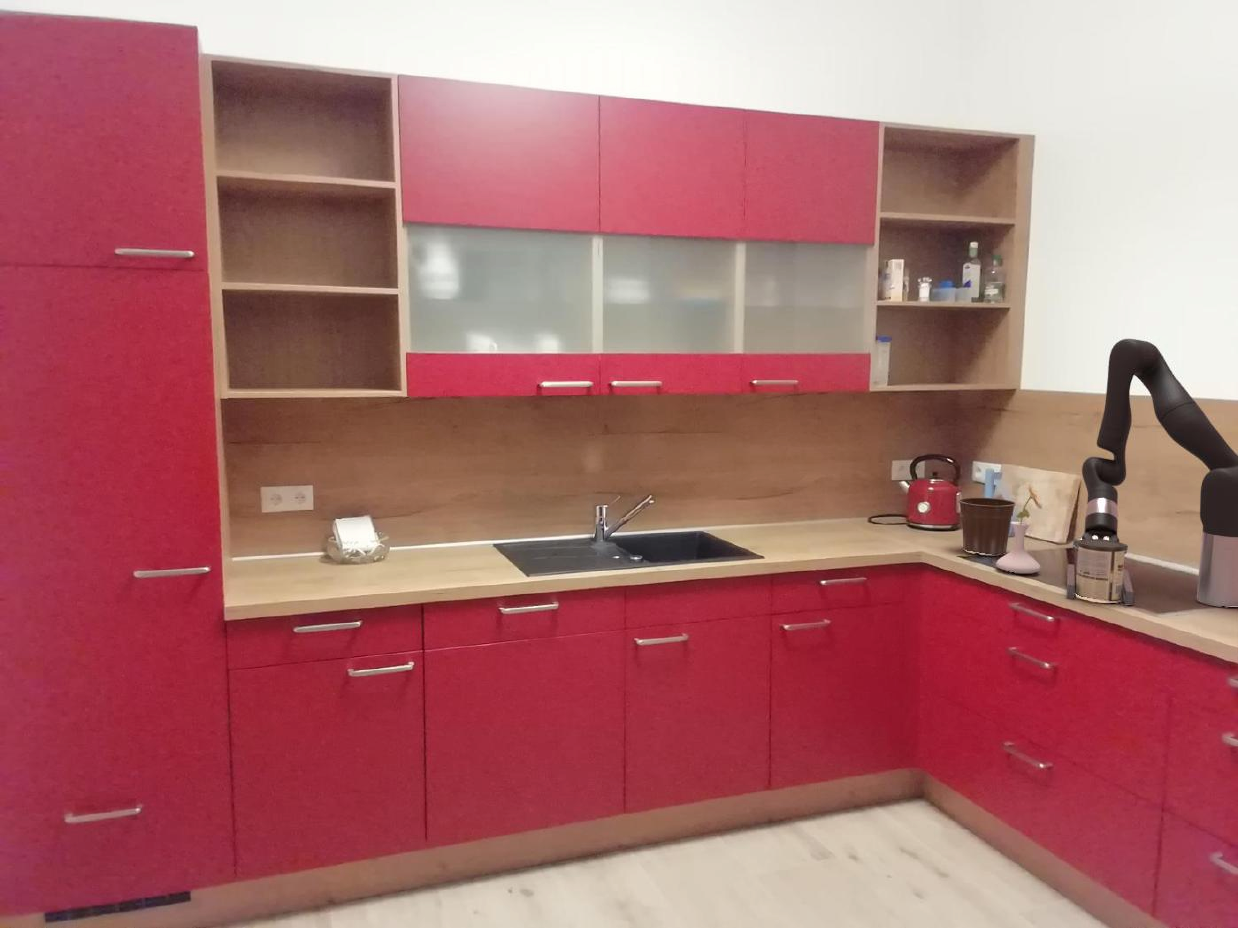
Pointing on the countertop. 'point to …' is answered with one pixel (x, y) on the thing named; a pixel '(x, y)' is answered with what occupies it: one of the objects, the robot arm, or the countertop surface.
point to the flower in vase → (1021, 544)
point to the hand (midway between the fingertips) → (1098, 574)
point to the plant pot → (986, 524)
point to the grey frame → (1126, 585)
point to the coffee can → (1100, 569)
